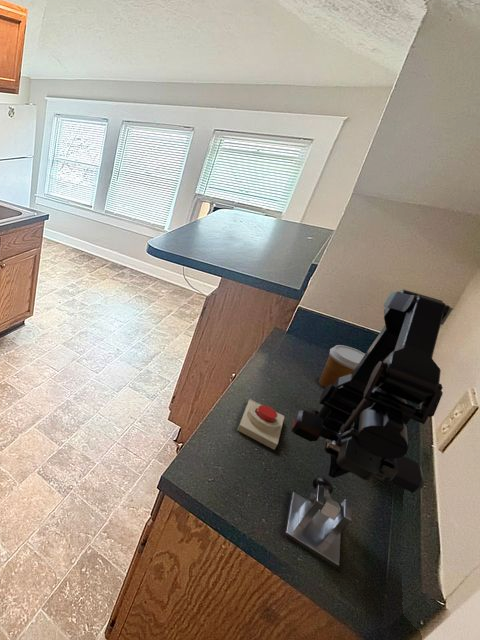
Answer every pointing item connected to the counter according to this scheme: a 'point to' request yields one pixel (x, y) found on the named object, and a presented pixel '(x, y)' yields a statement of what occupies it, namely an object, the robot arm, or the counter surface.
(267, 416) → the stop button
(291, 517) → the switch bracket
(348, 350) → the disposable coffee cup
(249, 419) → the stop block
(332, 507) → the switch lever
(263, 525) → the counter surface
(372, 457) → the robot arm
